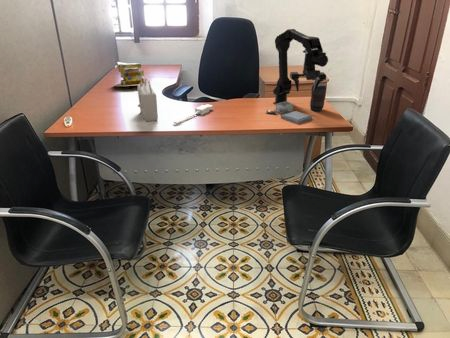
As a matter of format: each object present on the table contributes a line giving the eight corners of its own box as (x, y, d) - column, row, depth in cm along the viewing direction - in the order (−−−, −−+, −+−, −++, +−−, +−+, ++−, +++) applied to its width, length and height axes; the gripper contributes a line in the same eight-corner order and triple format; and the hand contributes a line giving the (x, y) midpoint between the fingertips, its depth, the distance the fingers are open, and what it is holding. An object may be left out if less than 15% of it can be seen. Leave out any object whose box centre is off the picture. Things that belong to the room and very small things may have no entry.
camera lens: (306, 108, 206) (309, 83, 199) (318, 107, 209) (321, 82, 202) (314, 112, 200) (317, 86, 193) (326, 111, 202) (329, 85, 195)
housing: (275, 112, 200) (275, 103, 198) (284, 109, 205) (285, 101, 202) (282, 114, 196) (283, 106, 194) (292, 111, 201) (293, 103, 198)
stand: (280, 118, 191) (281, 114, 190) (295, 113, 198) (295, 110, 197) (297, 124, 183) (298, 120, 182) (312, 119, 190) (312, 115, 189)
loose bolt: (266, 113, 198) (266, 109, 196) (266, 112, 200) (267, 108, 199) (275, 114, 196) (275, 110, 195) (276, 113, 199) (276, 108, 197)
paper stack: (113, 83, 257) (110, 60, 249) (147, 81, 262) (145, 58, 254) (113, 92, 236) (109, 67, 228) (150, 89, 241) (147, 65, 233)
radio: (137, 111, 201) (132, 67, 189) (151, 109, 204) (147, 66, 192) (143, 123, 183) (138, 76, 171) (159, 122, 185) (154, 74, 174)
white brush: (170, 126, 183) (170, 120, 181) (206, 108, 206) (206, 102, 204) (178, 128, 180) (177, 122, 179) (213, 109, 203) (213, 104, 202)
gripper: (295, 66, 176) (291, 95, 184) (331, 66, 177) (326, 96, 185) (291, 61, 186) (287, 89, 194) (325, 61, 187) (321, 90, 194)
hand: (305, 91), depth 191 cm, fingers open, 9 cm apart
